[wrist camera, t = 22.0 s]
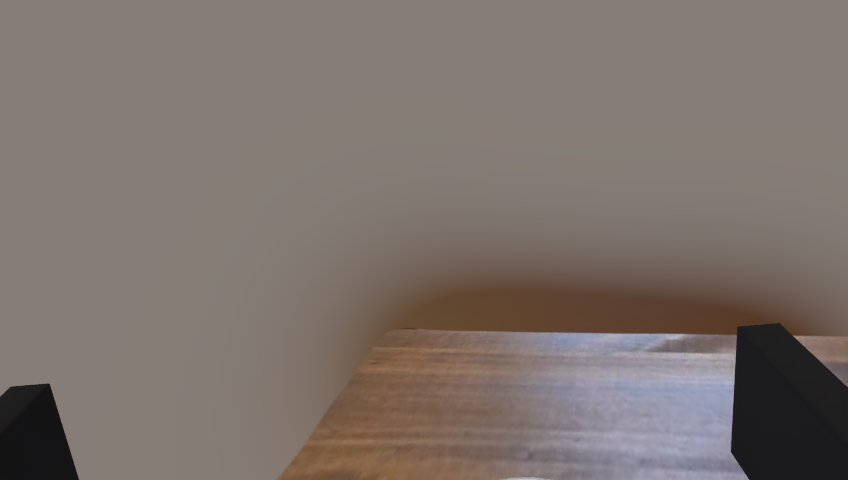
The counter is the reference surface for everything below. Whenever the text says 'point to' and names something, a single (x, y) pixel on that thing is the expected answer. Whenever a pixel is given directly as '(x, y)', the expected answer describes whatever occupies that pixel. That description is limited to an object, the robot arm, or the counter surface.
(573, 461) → the counter surface
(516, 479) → the cup
